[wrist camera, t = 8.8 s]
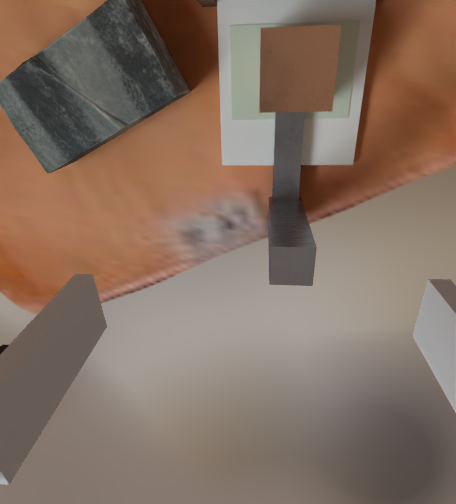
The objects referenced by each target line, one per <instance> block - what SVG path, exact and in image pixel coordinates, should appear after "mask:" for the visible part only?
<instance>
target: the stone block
mask: <svg viewBox="0 0 456 504" xmlns="http://www.w3.org/2000/svg"><path fill="white" fill-rule="evenodd" d="M189 92H190V89H189V88H188V86H187V84H186V82H185V80H184V78H183V77H182V75H181V73H180V71H179V69H178V67H177V66H176V64H175V62H174V60H173V58H172V56H171V54H170V53H169V51H168V49H167V47H166V45H165V43H164V42H163V39H162V38H161V36H160V34H159V32H158V30H157V29H156V27H155V25H154V23H153V21H152V19H151V17H150V16H149V14H148V12H147V10H146V6H145V5H144V3H143V1H142V0H107V1H106V2H105V3H104V4H103V5H101V6H100V7H99V8H97V9H96V10H95V11H94V12H93V13H91V14H90V15H89V16H87V17H86V18H85V19H84V20H83V21H81V22H80V23H78V24H77V25H76V26H74V27H73V28H72V29H70V30H69V31H68V32H66V33H65V34H64V35H62V36H61V37H60V38H58V39H57V40H56V41H54V42H53V43H52V44H50V45H49V46H48V47H46V48H45V49H44V50H42V51H41V52H40V53H38V54H37V55H36V56H34V57H32V58H30V59H28V60H27V61H25V62H23V63H22V64H21V65H20V66H19V67H18V68H17V69H16V70H15V71H13V72H12V73H11V74H9V75H8V76H7V77H6V78H4V79H3V80H2V81H0V106H1V107H2V109H3V110H4V112H5V113H6V115H7V116H8V118H9V120H10V122H11V123H12V125H13V126H14V128H15V129H16V131H17V132H18V133H19V135H20V136H21V137H22V139H23V140H24V141H25V143H26V144H27V145H28V146H29V148H30V149H31V151H32V152H33V154H34V155H35V157H36V158H37V160H38V161H39V162H40V164H41V165H42V167H43V168H44V169H45V171H46V172H47V173H51V172H53V171H56V170H58V169H60V168H62V167H64V166H67V165H69V164H71V163H73V162H75V161H76V160H78V159H79V158H81V157H83V156H85V155H86V154H88V153H90V152H91V151H93V150H95V149H96V148H98V147H100V146H101V145H103V144H105V143H106V142H108V141H110V140H111V139H113V138H115V137H116V136H118V135H120V134H121V133H123V132H124V131H126V130H128V129H129V128H131V127H132V126H134V125H136V124H138V123H139V122H141V121H142V120H144V119H146V118H148V117H149V116H151V115H153V114H154V113H156V112H158V111H159V110H161V109H163V108H164V107H166V106H167V105H169V104H171V103H173V102H174V101H176V100H178V99H179V98H181V97H183V96H184V95H186V94H188V93H189Z"/></svg>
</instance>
